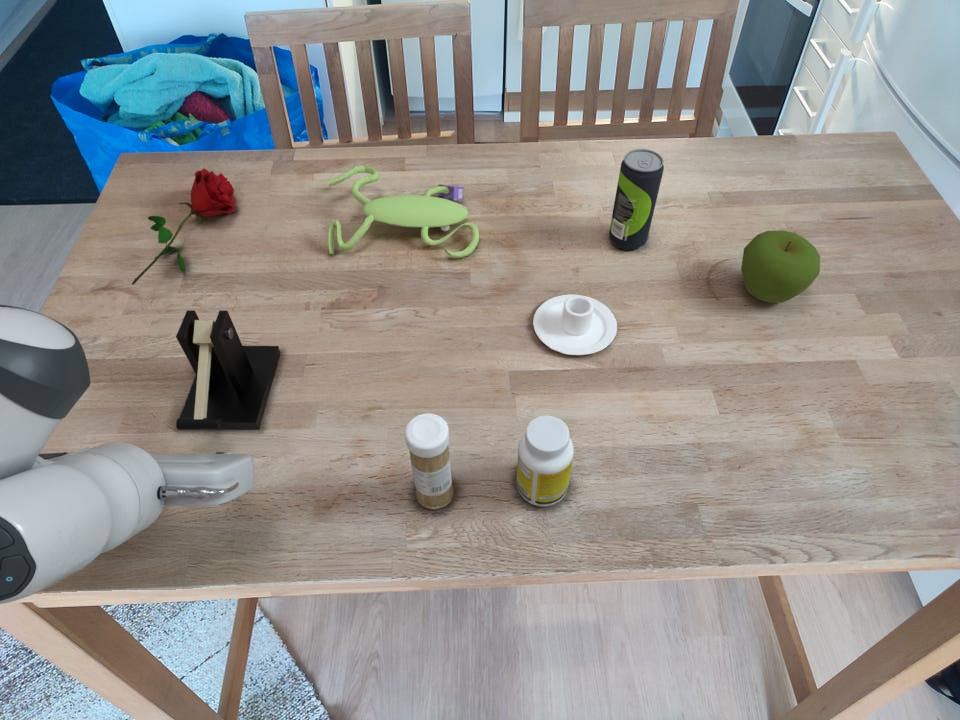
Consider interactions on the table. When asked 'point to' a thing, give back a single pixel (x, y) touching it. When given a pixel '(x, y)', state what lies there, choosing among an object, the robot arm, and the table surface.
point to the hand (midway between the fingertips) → (182, 458)
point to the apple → (779, 265)
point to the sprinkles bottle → (430, 460)
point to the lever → (202, 381)
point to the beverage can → (635, 198)
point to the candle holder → (575, 324)
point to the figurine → (407, 212)
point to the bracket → (230, 374)
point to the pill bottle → (544, 461)
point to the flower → (197, 208)
